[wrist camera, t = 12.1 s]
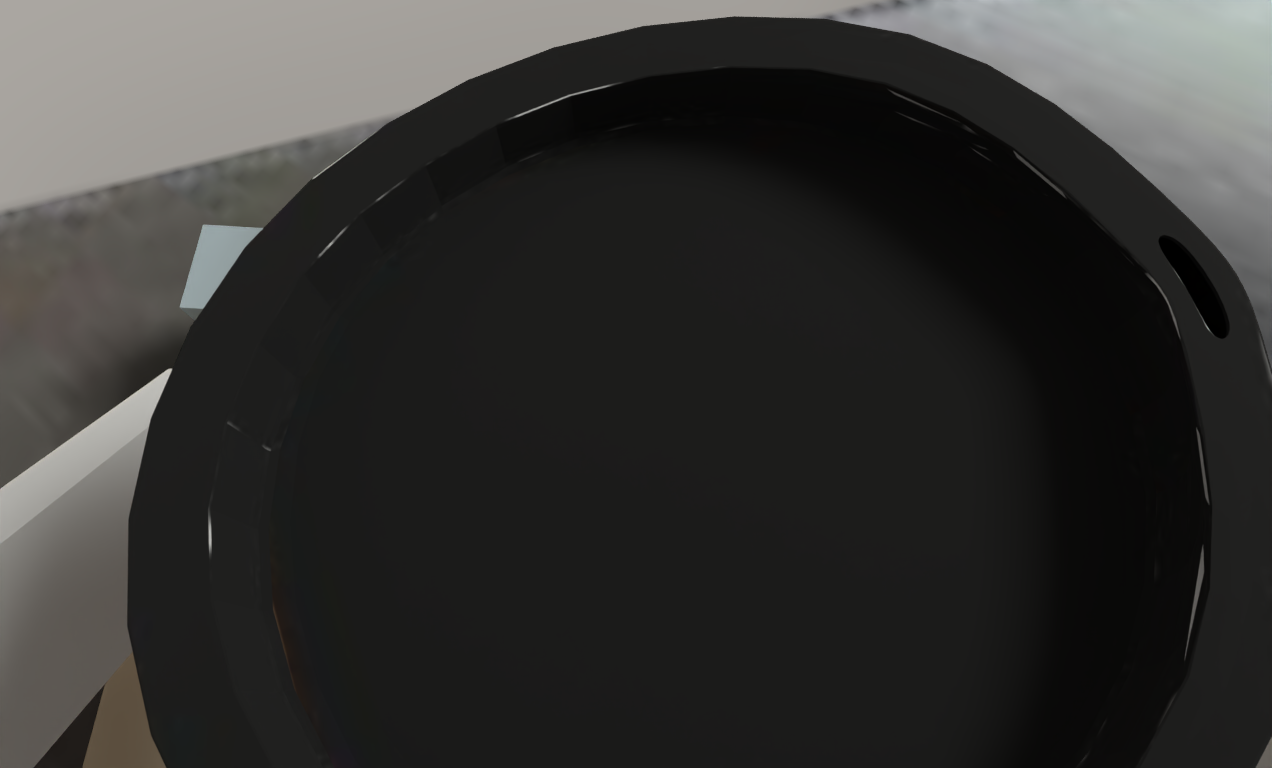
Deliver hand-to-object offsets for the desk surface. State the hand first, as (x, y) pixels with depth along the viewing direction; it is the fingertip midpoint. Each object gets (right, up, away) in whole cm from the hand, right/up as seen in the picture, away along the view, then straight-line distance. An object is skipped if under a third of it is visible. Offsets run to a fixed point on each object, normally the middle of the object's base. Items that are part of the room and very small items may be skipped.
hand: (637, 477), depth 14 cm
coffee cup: (0, -4, +6) cm, 8 cm away
